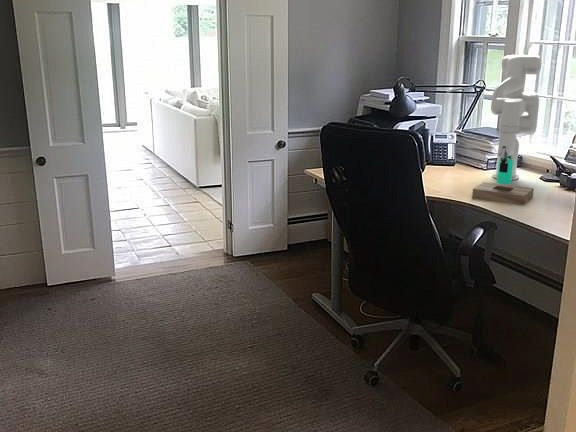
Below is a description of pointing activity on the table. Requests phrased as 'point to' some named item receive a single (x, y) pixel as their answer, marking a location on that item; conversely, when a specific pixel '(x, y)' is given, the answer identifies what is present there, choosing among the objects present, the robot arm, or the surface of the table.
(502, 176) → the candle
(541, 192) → the table surface
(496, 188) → the wooden socket board
